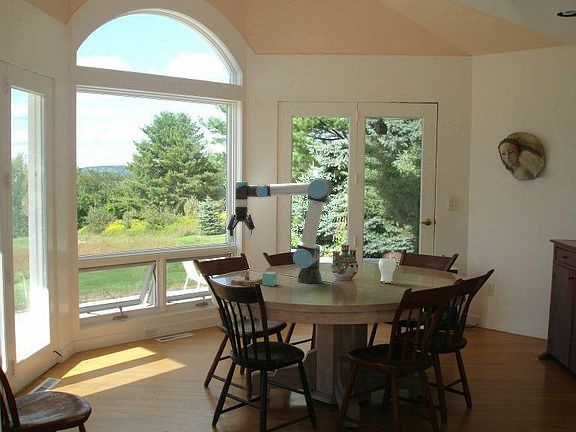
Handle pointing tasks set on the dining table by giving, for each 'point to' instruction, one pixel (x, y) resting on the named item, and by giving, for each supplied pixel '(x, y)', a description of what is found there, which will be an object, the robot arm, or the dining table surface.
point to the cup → (387, 269)
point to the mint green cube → (269, 278)
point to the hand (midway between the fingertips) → (240, 240)
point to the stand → (246, 280)
